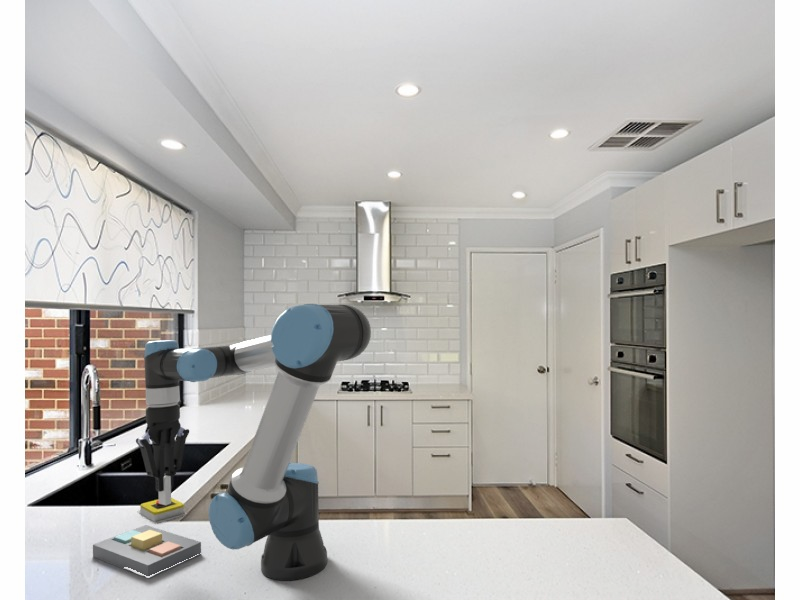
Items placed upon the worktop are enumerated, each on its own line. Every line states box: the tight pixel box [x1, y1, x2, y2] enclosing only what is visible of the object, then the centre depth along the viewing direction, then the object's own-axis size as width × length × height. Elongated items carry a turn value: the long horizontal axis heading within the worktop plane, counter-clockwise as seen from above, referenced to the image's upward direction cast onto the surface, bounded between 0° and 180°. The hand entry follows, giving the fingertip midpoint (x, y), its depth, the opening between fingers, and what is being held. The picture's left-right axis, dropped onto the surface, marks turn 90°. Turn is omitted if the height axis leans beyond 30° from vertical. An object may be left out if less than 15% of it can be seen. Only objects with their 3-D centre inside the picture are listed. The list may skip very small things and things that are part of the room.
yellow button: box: [131, 530, 162, 551], centre depth 132 cm, size 5×5×3 cm
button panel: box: [92, 524, 202, 576], centre depth 132 cm, size 23×14×3 cm, turn 58°
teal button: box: [113, 529, 141, 544], centre depth 136 cm, size 5×5×3 cm
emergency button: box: [137, 497, 188, 524], centre depth 162 cm, size 9×4×15 cm
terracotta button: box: [149, 541, 181, 557], centre depth 128 cm, size 5×5×3 cm
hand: (164, 503), depth 128 cm, fingers closed
